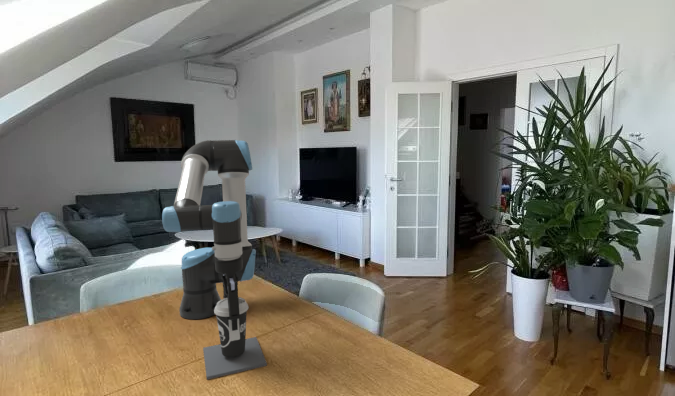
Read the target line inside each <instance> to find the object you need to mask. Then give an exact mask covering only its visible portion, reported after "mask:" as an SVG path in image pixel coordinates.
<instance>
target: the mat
mask: <svg viewBox="0 0 675 396" xmlns="http://www.w3.org/2000/svg"><path fill="white" fill-rule="evenodd" d="M202 351H203V359H204V368H205V375H206V380H207V381H208V380H211V379H215V378H220V377H224V376H225V377H226V376H228V375H233V374H237V373H242V372H245V371H249V370H254V369H259V368H263V367H266V366H268V363H267V361H266V357H265V355H264V353H263V351H262V348H261V345H260V343H259V341H258V338H257V336H255V337H249V338H248V337H247V338H246V339H245V351H244V353H243V354H241V355H239V356H236V357H225V356H223V355H222V350H221V343H220V344H215V345H214V344H213V345H211V346H209V345H208V346H204V347H203V348H202Z"/></svg>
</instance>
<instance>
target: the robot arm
mask: <svg viewBox="0 0 675 396" xmlns="http://www.w3.org/2000/svg"><path fill="white" fill-rule="evenodd" d="M251 157H252V156H251V151H250V146H249V143H248V142H247V141H246V140H240V139H239V140H237V139H232V140H230V139H227V140H226V139H223V140H222V139H221V140H220V139H219V140H210V139H209V140H203V141H200V142H197V143H196V144H194V145H192V146H190V148H189V149H187V150H186V152H184V154H183V156H182V158H181V163H180V168H181V174H180V179H179V183H178V186H177V191H176V195H175V198H174V201H173V202H174V203H173V205H171V206H166V207H164V208H163V210H162V213H161V222H162V223H161V224H162V226H163V229H164V231H165V232H167V233H171V232H172V233H184V232H196V231H197V232H198V231H212V232H213V245H214V246H212V247H200V248H198V249H194V250H190V251H188V252H186V253H184V255H182V257H181V267H180V269H181V275H182V276H181V277H182V287H183V295H182V298H181V302H180V306H179V316H180V317H181V318H183V319H187V320H202V319H207V318H210V317H213V316H215V315H216V314H215V313H214V309H215V307H216V305H217V302H218V301H220V300H222V299H225V298H227V299H228V309H229V317H228V318H227V320H229V337H230V341H234V340H239V339H240V328H239V318H240V313H239V301H238V297H239V293H238V292H239V287H238V285H239V283H240V282H241V283H242V282H244V281H245V282H246V281H250V280H252V279H253V278H254V274H255V267H256V266H255V265H256V254H257V252H256V251H257V250H256V249H255V248H253V245H252V243H251V242H249V240H248V222H247V221H248V216H247V195H246V194H247V193H246V179H247V177H248V176H250V171H252V170H253V165H252V158H251ZM208 172H217V176H218V177H219V178H220V179H221V182H222V183H221V186H222V201H218V202H214V203H213V204H207V205H205V204H204V205H203V204H202V205H201V202H202V196H203V189H204V182H205V176H206V174H208ZM238 282H239V283H238ZM221 283H222V289H223V291H222V292H223V296H222V299H221V297H220V293H219V291H218V289H217V284H221Z"/></svg>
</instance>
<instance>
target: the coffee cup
mask: <svg viewBox="0 0 675 396" xmlns="http://www.w3.org/2000/svg"><path fill="white" fill-rule="evenodd" d="M238 301H239V313H240V318H239V328H240V339H239V340H234V341H230V337H229V320H227V318H228V317H229V309H228V299H227V298H225V299H224V298H222V299H221V300H220V301H218V302H217V305H216V307H215V309H214V313H215V315H216V323H217V327H218V328H217V329H218V334H219V342H220V344H221V350H222V355H223V356H225V357H236V356H239V355H241V354H243V353H244V351H245V339H247V338H246V335H247V314H248V313H247V312H248V310H249V304H248V303H247V301H246V299H245V298H243V297H240V296H238Z"/></svg>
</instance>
